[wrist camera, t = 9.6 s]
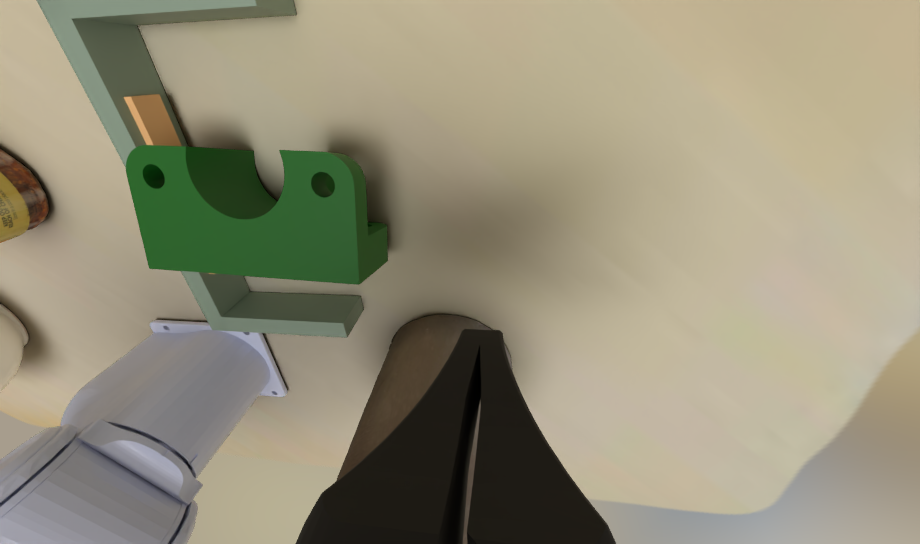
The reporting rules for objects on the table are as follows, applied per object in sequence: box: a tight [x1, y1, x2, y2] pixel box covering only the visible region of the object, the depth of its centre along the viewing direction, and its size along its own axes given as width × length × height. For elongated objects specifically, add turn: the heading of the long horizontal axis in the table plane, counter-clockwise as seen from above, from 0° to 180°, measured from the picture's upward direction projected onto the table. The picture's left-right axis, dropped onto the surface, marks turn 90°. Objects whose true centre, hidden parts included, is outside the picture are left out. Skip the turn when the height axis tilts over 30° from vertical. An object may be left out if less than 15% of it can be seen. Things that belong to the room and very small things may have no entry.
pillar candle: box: [337, 315, 512, 544], centre depth 20 cm, size 10×10×15 cm
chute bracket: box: [37, 0, 364, 338], centre depth 19 cm, size 10×18×3 cm, turn 2°
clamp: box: [126, 145, 388, 285], centre depth 19 cm, size 12×6×9 cm, turn 83°
